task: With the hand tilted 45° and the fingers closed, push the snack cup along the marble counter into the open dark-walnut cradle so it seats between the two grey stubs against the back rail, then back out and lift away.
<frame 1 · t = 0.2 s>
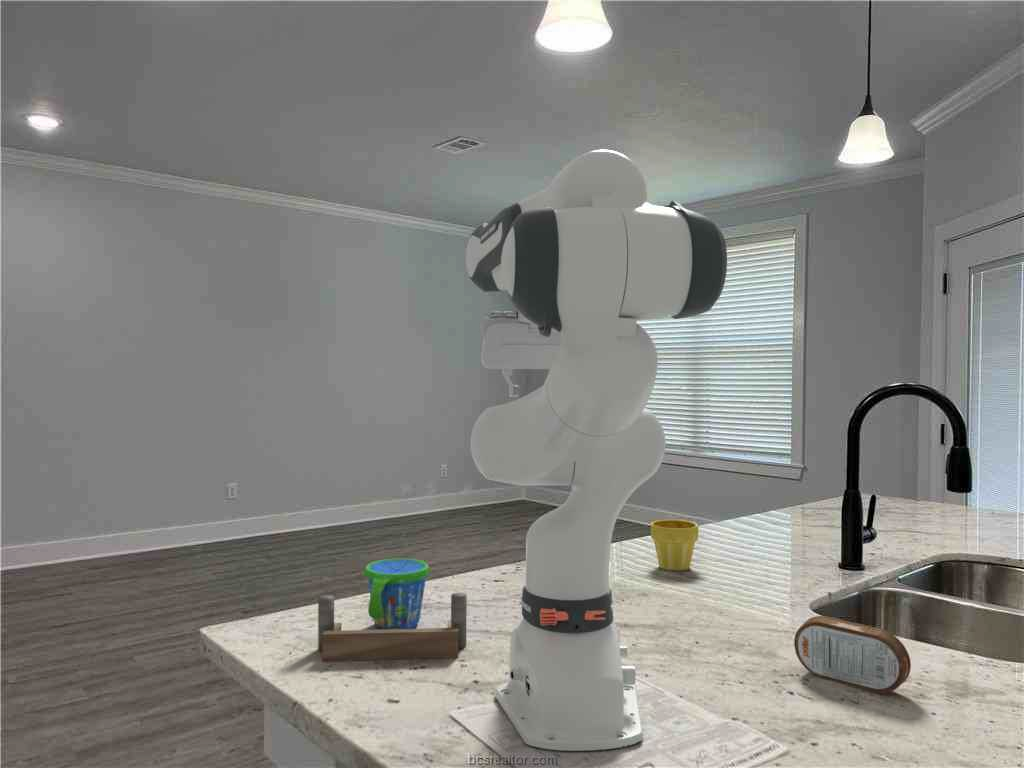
hand: (542, 396, 125), 39 cm above the worktop, tool pointing down, fingers open, 8 cm apart
snack cup: (396, 626, 129), on the worktop
tin: (848, 685, 106), on the worktop
cradle: (393, 644, 120), on the worktop
plant pot: (673, 568, 170), on the worktop
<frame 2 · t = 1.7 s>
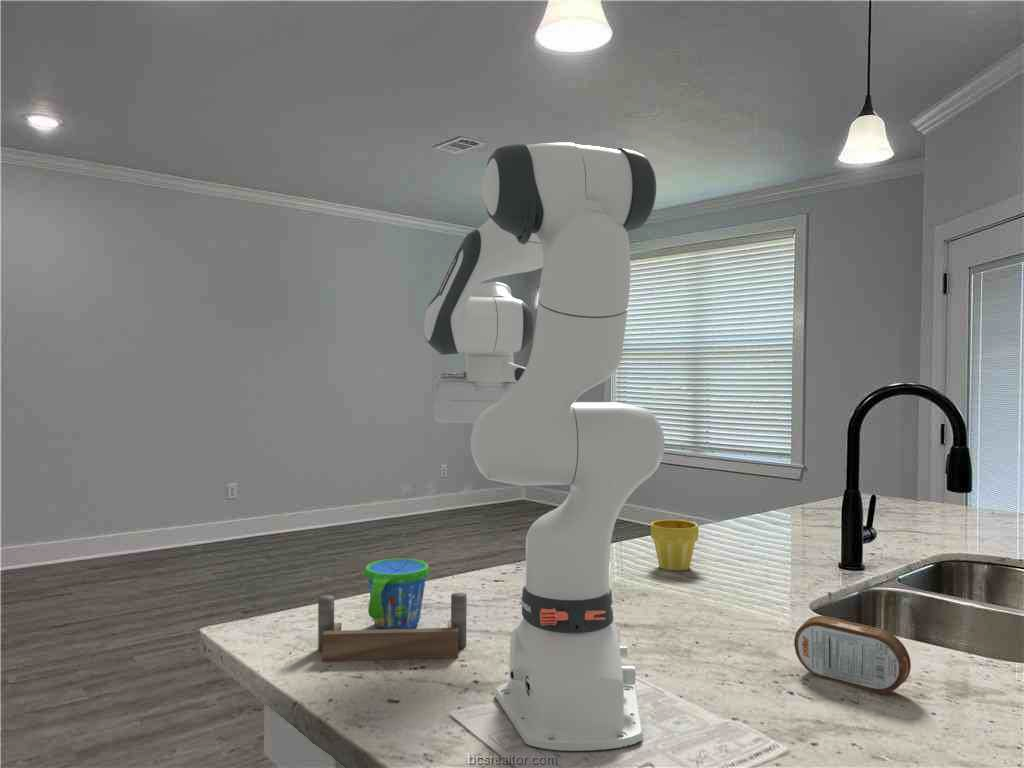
hand: (488, 447, 140), 29 cm above the worktop, tool pointing down, fingers closed
nothing on the worktop moved.
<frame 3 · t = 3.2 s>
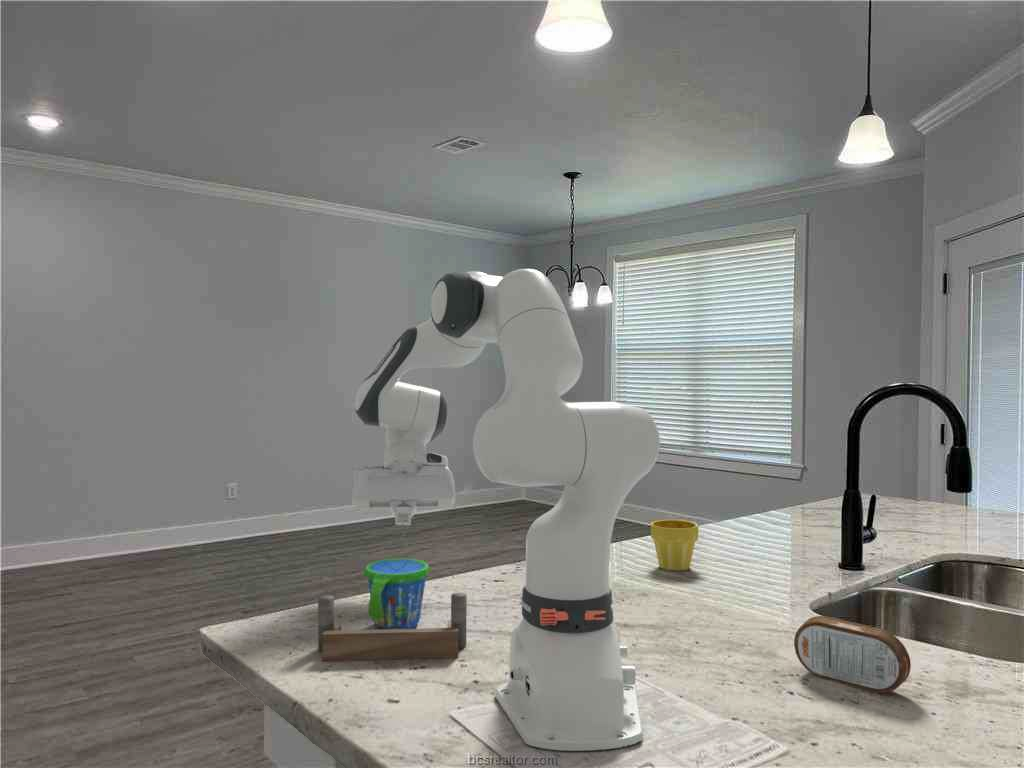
hand: (402, 523, 147), 14 cm above the worktop, tool tilted 45°, fingers closed
nothing on the worktop moved.
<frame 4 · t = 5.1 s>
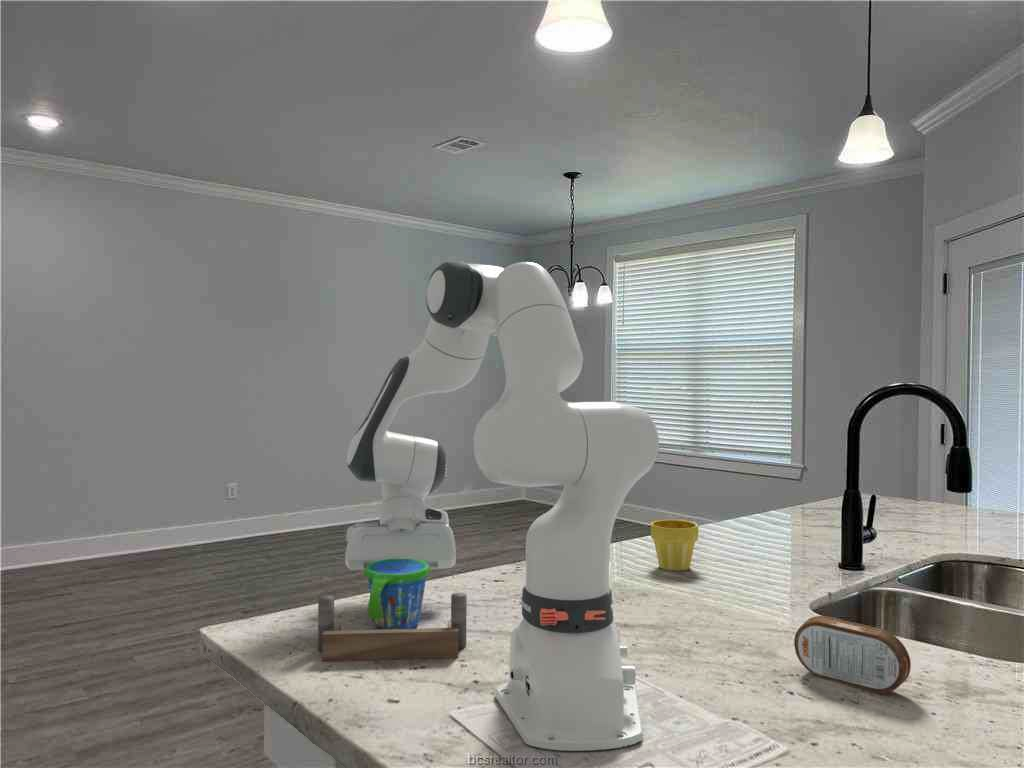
hand: (399, 587, 137), 4 cm above the worktop, tool tilted 45°, fingers closed
snack cup: (396, 626, 129), on the worktop, touching gripper
everything else where it was.
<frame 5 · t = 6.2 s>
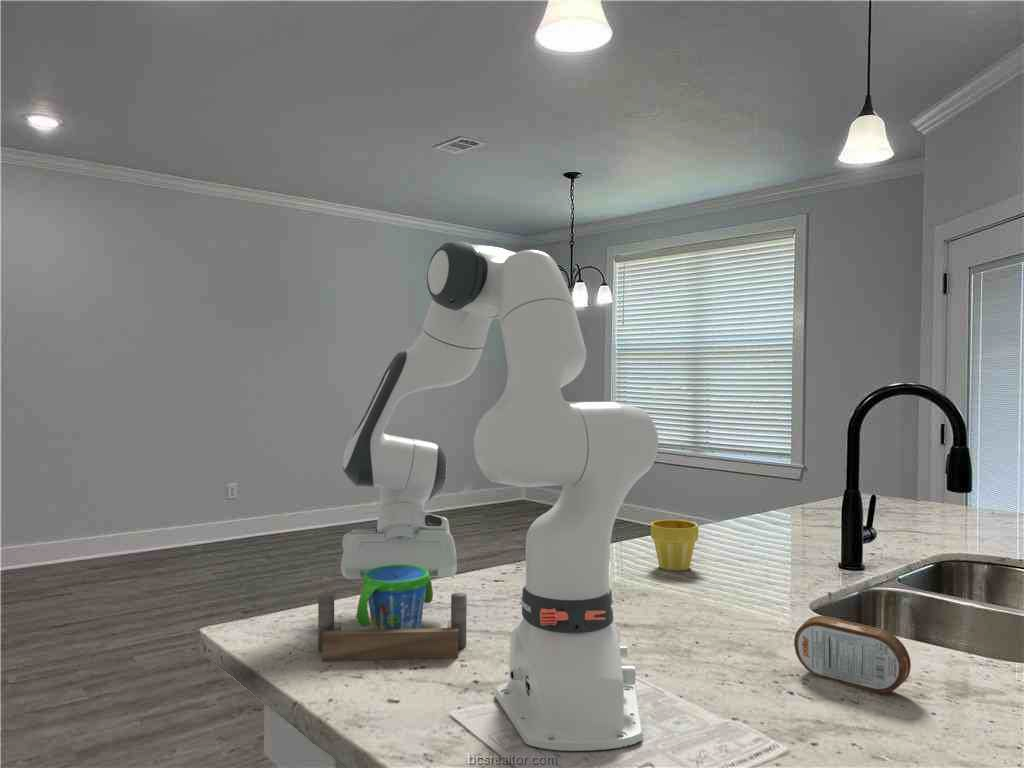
hand: (398, 597, 131), 4 cm above the worktop, tool tilted 45°, fingers closed
snack cup: (396, 635, 125), on the worktop, touching gripper
everything else where it was.
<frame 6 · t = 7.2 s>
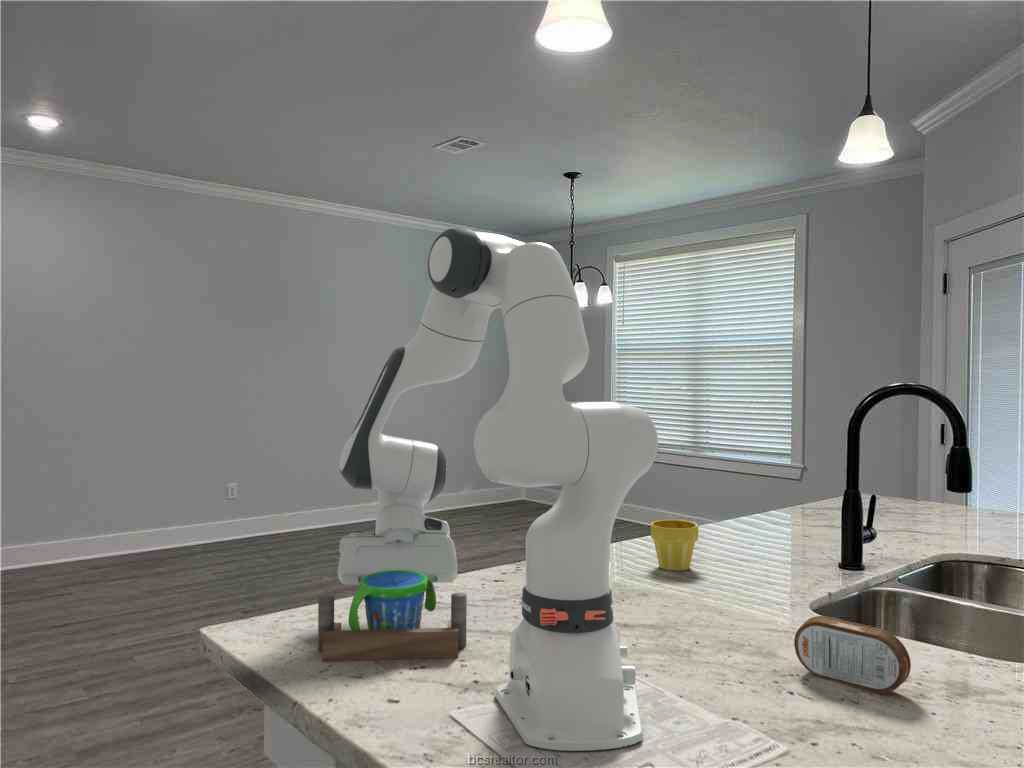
hand: (396, 604, 127), 4 cm above the worktop, tool tilted 45°, fingers closed
snack cup: (393, 643, 121), on the worktop, touching cradle, gripper
everything else where it was.
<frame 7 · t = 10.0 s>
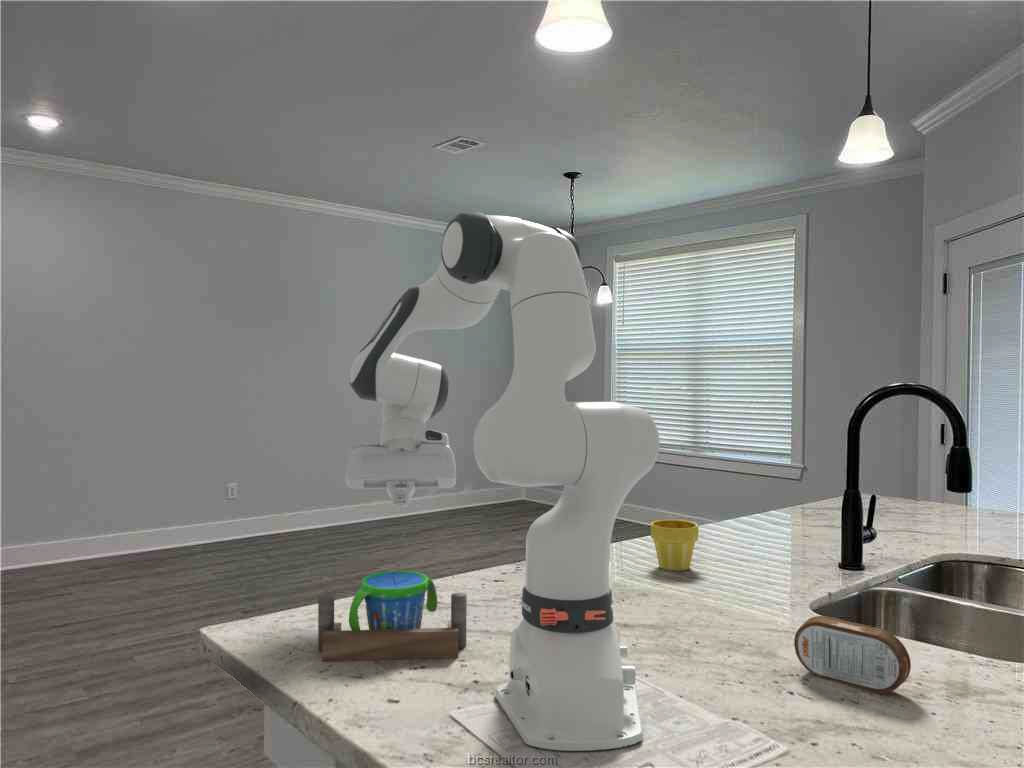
hand: (400, 504, 136), 19 cm above the worktop, tool tilted 45°, fingers closed
snack cup: (394, 643, 121), on the worktop
everything else where it was.
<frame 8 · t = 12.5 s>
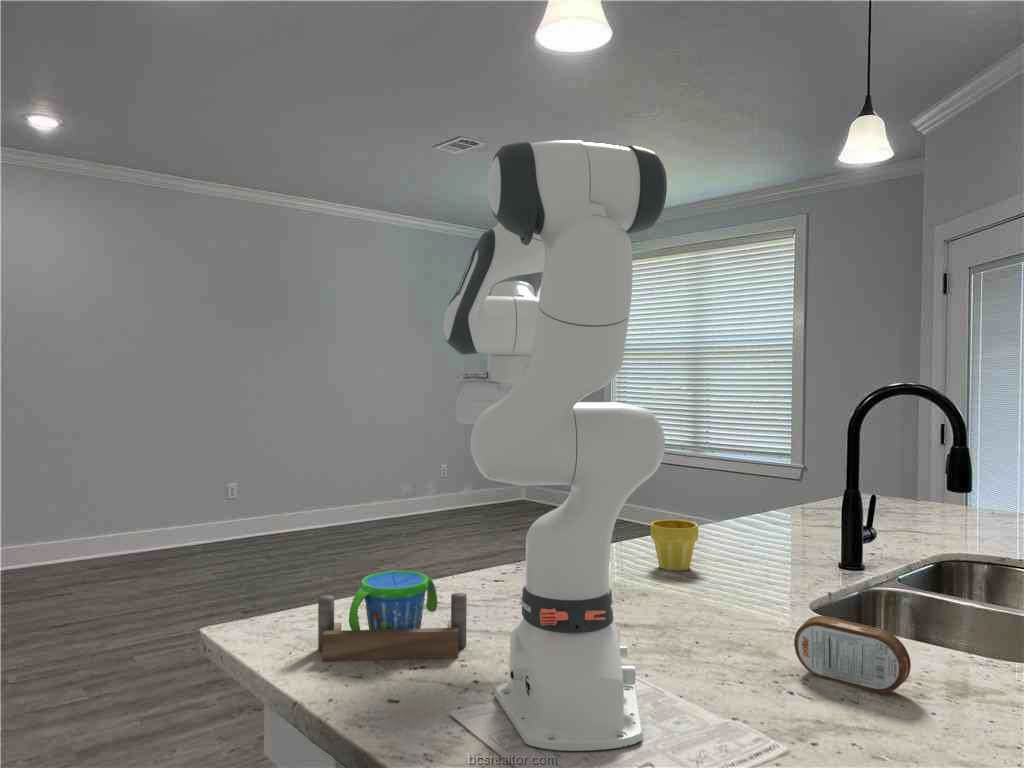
hand: (511, 448, 139), 29 cm above the worktop, tool pointing down, fingers closed
nothing on the worktop moved.
at the end: snack cup inside the target area on the cradle (0.7 cm from its centre), point 0.0 cm above the cradle's base; snack cup moved 8.3 cm from its start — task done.
